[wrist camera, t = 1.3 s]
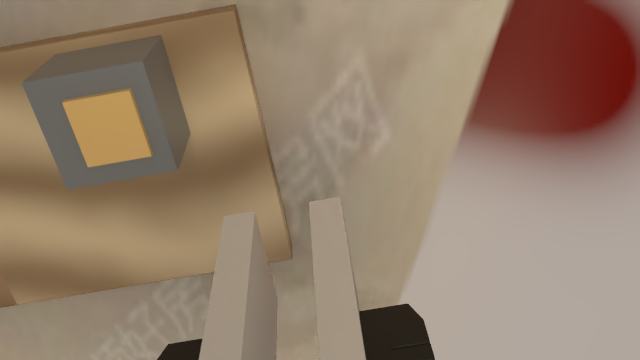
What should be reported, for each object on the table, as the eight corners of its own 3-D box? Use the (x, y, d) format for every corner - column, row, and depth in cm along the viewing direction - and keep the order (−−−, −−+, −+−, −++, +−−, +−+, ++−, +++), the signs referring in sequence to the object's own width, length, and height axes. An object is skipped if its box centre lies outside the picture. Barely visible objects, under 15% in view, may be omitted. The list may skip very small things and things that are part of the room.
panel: (-251, 93, 29) (-271, 102, 28) (235, 4, 28) (233, 10, 27) (-105, 313, 35) (-117, 327, 34) (291, 246, 35) (292, 258, 34)
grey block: (55, 54, 27) (18, 85, 24) (161, 34, 27) (140, 63, 23) (93, 150, 30) (64, 193, 26) (190, 133, 30) (176, 173, 26)
